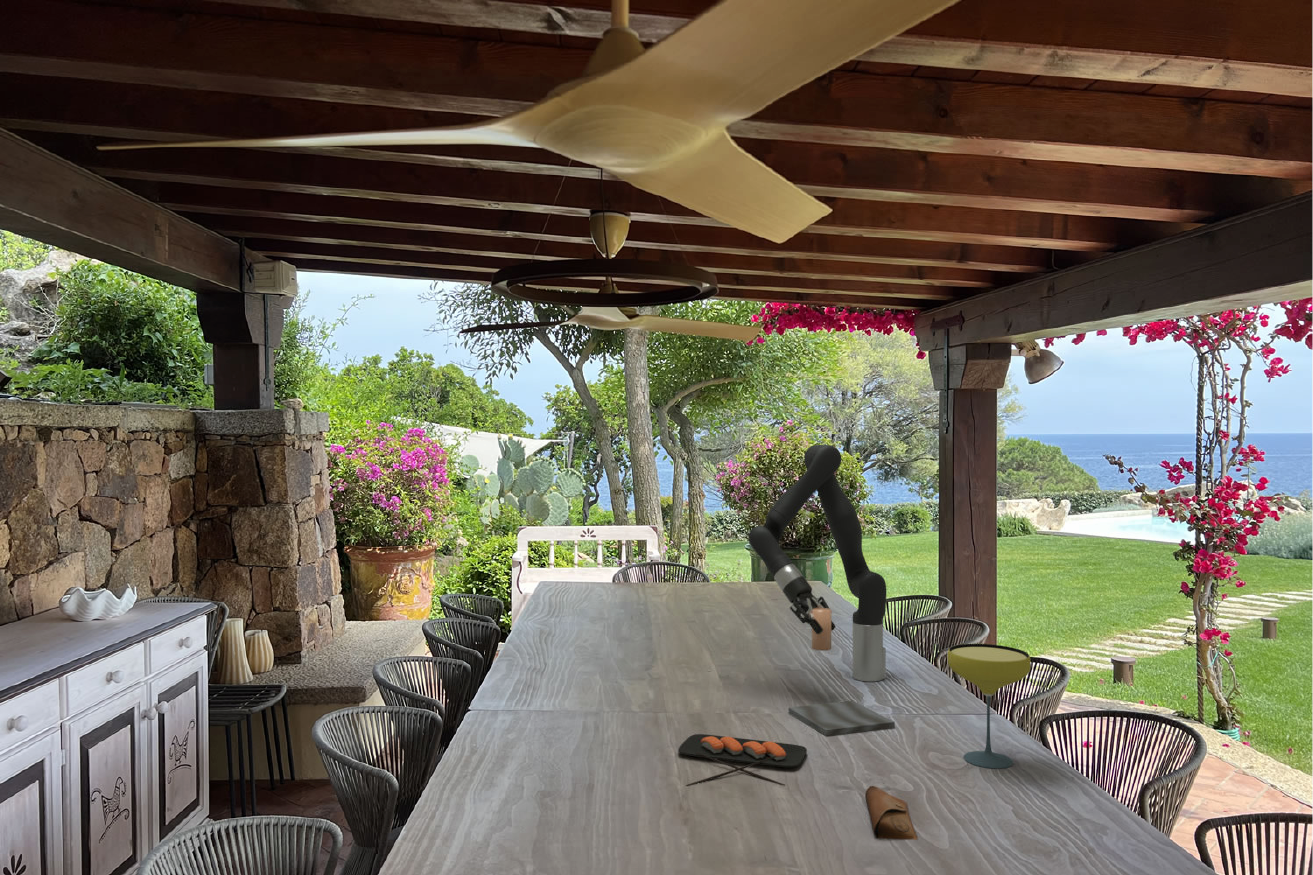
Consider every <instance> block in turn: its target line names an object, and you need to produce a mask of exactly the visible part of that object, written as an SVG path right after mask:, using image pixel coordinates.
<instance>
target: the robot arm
mask: <svg viewBox="0 0 1313 875" xmlns="http://www.w3.org/2000/svg"><path fill="white" fill-rule="evenodd" d="M803 461H804V465H805V468H806V471H805V473H804V474H803V475H802V476H801V477H800V478H799V479H798V481H796V482H795V483H794V484H793V485H791V486H790V487H789V488H788V489H787V490H786V491H785V492H784V493H783V494H782V495H781V496H780V497H779V498H778V500H776V501H775V503H774V504H773V506H771V508H770V509H769V511H768V512H767V514H766V520H765V523H764V524H763V526H762V525H756V526H754V527H752V528H751V529H750V531H749V532H748V537H747V538H748V542H749V545H750V546H751V547H752V549H753V551H754V552H755V553H757V555H758V556H759V557H760V559H761V560H762V561H763V564H764V565H765V567H766V569H767V570H768V572H769V573H770V575H771V576H772V577H773V579H774V580H775V582H776V583H777V585H778V587H779V589H780V590H781V591H782V593H783V594H784V595H785V597H786V598H787V600H788V601H789V603H791V605H790V606H789V610H791V612H792V613H793V614H794V615H795V616H796V617H797V619H798V620H799V621H800V622H801V623H802V624H807V625H809V626H810V628H811V629H812V628H813V630H814V631H815V632H816V634H820V633H821V632H822V631H823V629H822V627H821V626H820V624H819V623H818V622H817V620H816V619H815V618H814V615H813V608H829V609H831V608H830V607H829V605H828V604H827V602H826V600H825V599H824V597H823V596H820V597H816V596H815V595H813V592H812V591H813V588H812V586H811V585H810V583H809V582H808V581H807V579H806V578H805V576H804V575H803V574H802V572H801V571H800V570H799V568H798V567H796V565H795V564H794V563H793V562H792V560H791V559H790V558H789V556H788V555H787V554H786V552H785V551H784V550H783V549H782V548H781V546H780V545H779V542H780V539H781V538H782V536H783V534H784V532H785V530H786V528H787V527H788V525H790V523H791V522H792V521H793V519H794V518H795V517H796V515H797V514H798V513H799V511H800V510H801V509H802V508H803V507H804V505H806V504H805V503H807V501H808V500H809V499H810V498H811V497H812V496H813V495H814V494H815V492H817V494H818V497H819V498H818V499H819V501H820V503H821V506H822V509H823V512H824V515H825V518H826V521H827V525H828V526H829V530H830V533H831V535H832V538H833V541H834V543H835V546H836V549H837V551H838V553H839V556H840V559H841V563H842V566H843V569H844V574H845V577H846V578H845V579H846V581H847V585H848V590H849V591H850V593H851V594H852V595H853V596H854V597H855V598H857V599H858V607H857V610H856V611H854V612H853V613H852V678H853V679H854V680H857V681H860V682H861V681H862V682H863V681H864V682H879V681H882V680H886V678H887V677H886V676H887V675H886V671H887V670H886V669H887V668H886V667H887V666H886V660H887V659H886V658H887V657H886V656H887V655H886V652H887V650H886V647H884V618H885V615H886V609H887V582H886V581H885V578H884V577H883V576H882V574H880V573H877V572H874V571H872V570H870V568H869V566H868V564H867V562H866V559H865V556H864V553H863V547H862V546H863V545H862V544H863V530H862V526H861V522H860V519H859V516H858V513H857V512H856V508H855V507H854V506H853V504H852V502H851V501H850V499H849V498H848V496H847V495H846V493H845V492H844V490H843V489H842V488H841V486H840V485H839V482H838V478H837V477H836V474H835V473H836V472H837V471H838V470H839V468H840V466H841V464H842V454H841V452H840V450H839V449H838V448H837V447H835V446H833V445H830V444H813V445H811V446H809V447H808V448H807V449H806V450H805V453H804V458H803ZM831 614H832V611H831ZM814 619H815V620H814ZM835 628H836V624H835V622H834V621H833V620H832V619H831V632H832V631H834V630H835Z"/></svg>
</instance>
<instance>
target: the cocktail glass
mask: <svg viewBox="0 0 1313 875" xmlns="http://www.w3.org/2000/svg"><path fill="white" fill-rule="evenodd" d="M946 656H947V663H948V667H949V668H950V669H951V670H952V671H953V672H954V673H955V674H956V675H957V676H959V677H960V678H963V679H964V680H965V681H968V682H970V683H972V684H973V685H975V686H976V687H978V689H980V691H981V693H982V694H983V695H984V696H986V741H985V742H986V743H985V744H986V745H985V750H975V751H969V752H966V753H964V755H963V759H964V760H965V762H967V763H969V764H970V765H973V766H976V767H980V768H985V769H996V770H997V769H999V770H1000V769H1001V770H1002V769H1007V768H1010V767H1012V766H1013V765H1014V760H1013V759H1012V758H1011V757H1009V756H1007V755H1005V754H1002V753H999V752H994V751H992V747H991V746H992V744H991V715H990V714H991V709H990V708H991V697H992V696H994V695H995V694H996V693H997V691H998V690H999V689H1002V688H1003V687H1006V686H1009V685H1011V684H1014V683H1017V682H1018V681H1021V680H1023V679H1024V678H1025V677H1026V676H1028V675H1029V674H1030V671H1031V666H1032V665H1031V663H1032V662H1031V655H1030V654H1029V653H1028V652H1026V651H1024V650H1022V649H1018V648H1016V647H1011V646H1006V645H1001V644H992V643H990V644H989V643H962V644H955V645H952V646H950V647H949V648H948V650H947V655H946Z"/></svg>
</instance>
